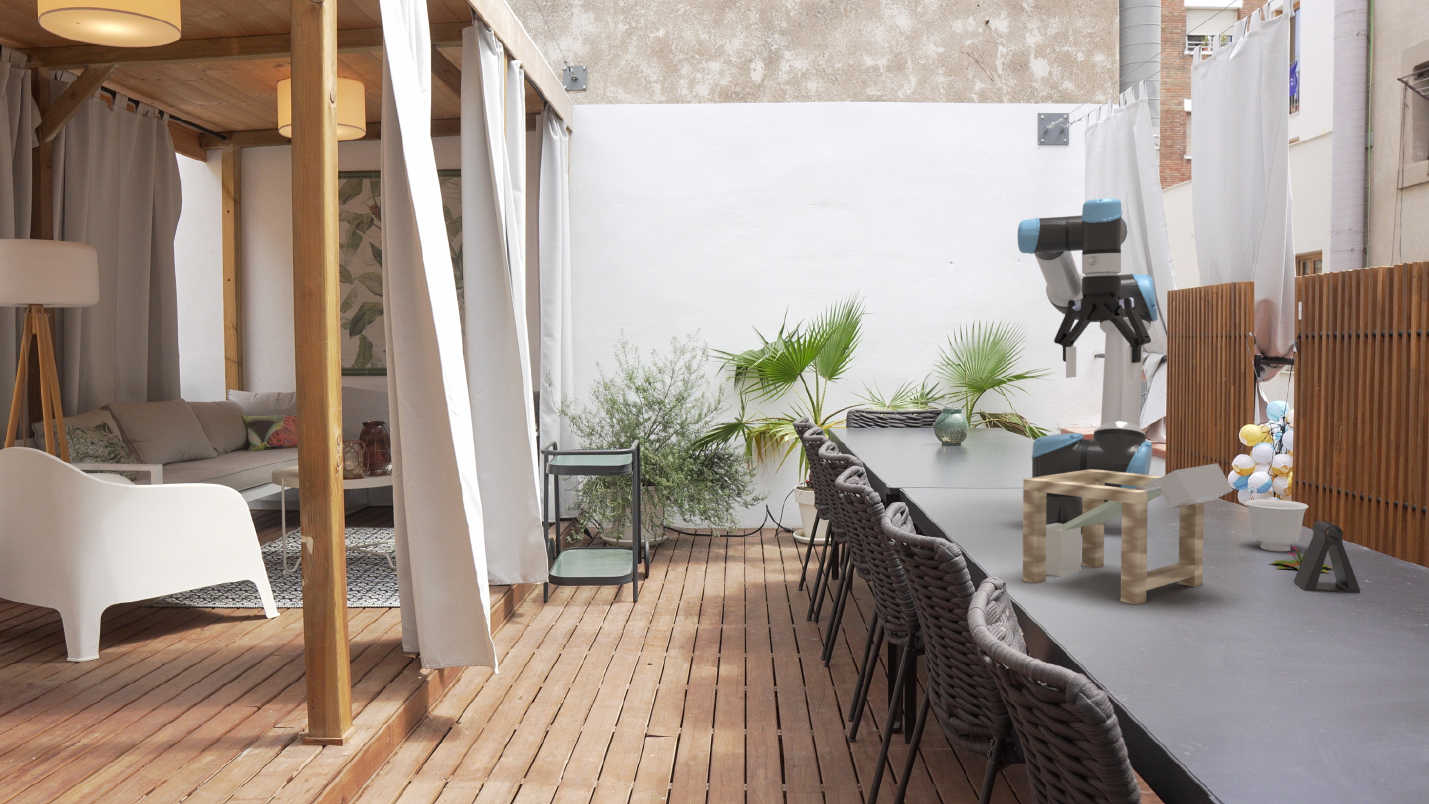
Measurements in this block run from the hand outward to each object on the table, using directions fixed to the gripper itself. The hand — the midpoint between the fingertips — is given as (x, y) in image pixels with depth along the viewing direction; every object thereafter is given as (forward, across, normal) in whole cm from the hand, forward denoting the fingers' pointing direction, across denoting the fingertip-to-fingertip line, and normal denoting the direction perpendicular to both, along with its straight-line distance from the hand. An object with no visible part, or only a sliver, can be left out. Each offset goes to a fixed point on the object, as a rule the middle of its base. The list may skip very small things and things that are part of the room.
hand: (1100, 378), depth 202 cm
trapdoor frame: (+37, +13, -18) cm, 43 cm away
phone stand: (+38, +40, +8) cm, 56 cm away
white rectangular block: (+28, +2, -17) cm, 33 cm away
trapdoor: (+25, +21, -17) cm, 37 cm away
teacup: (+39, +18, +38) cm, 58 cm away
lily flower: (+39, +30, +23) cm, 54 cm away
